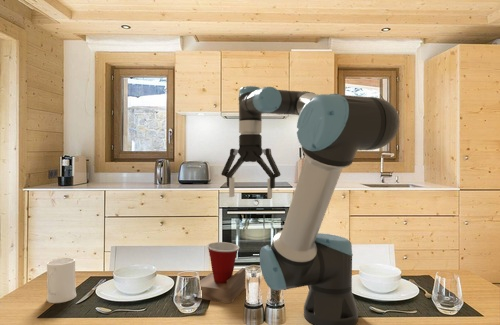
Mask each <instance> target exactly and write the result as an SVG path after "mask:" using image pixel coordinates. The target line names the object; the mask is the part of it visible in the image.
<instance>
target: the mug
mask: <svg viewBox="0 0 500 325" xmlns="http://www.w3.org/2000/svg"><path fill="white" fill-rule="evenodd" d="M46 274H47V275H46V279H47V280H46V289H47V290H46V291H47V296H46V297H47V298H46V302H47V303H49V304H61V303H66V302H70V301H72V300H74V299H76V297H77V292H76V291H77V289H76V288H77V287H76V259H75V258H73V257H60V258H54V259H52V260H49V261H47V263H46Z"/></svg>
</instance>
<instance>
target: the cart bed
mask: <svg viewBox="0 0 500 325" xmlns="http://www.w3.org/2000/svg"><path fill="white" fill-rule="evenodd" d="M199 281H200V283H201V290H202V299H201V300H207V301H213V302H220V303H224V304H225V303H226V304H231V303H232V302H233V301H234V300H236V298H238V296H240V295H241V294H242V293H243V292H244V290H246V267H245V268H244V267H242V268H240V269H238V271H237V272H235V273H233V274H232V277H230V278H229V279H228V280H227V283H224V284H220V283H216V282H215V281H214V277H213V272H210V273H209V274H208V275H206V276H205V277H203V278H202V279H200V280H199Z"/></svg>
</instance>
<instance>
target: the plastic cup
mask: <svg viewBox="0 0 500 325" xmlns="http://www.w3.org/2000/svg"><path fill="white" fill-rule="evenodd" d="M206 247H207V249H208V253H209V260H210V265H211V273H213V277H214V281H215V282H216V283H220V284H224V283H227V280H228V279H229V278H230V277H232V275H234V270H235V269H234V268H235V264H236V257H237V255H238V251H239V250H240V246H239V245H237V244H236V243H231V242H225V241H221V242H220V241H217V242H210V243H208V244H207V246H206Z"/></svg>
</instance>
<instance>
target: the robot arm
mask: <svg viewBox="0 0 500 325" xmlns="http://www.w3.org/2000/svg"><path fill="white" fill-rule="evenodd" d="M265 114H268V115H269V114H270V115H274V114H275V115H293V116H298V118H297V122H296V123H297V124H296V129H297V132H296V135H297V140H298V143H299V145H300V146H301V151H302V153H303V154H304V156H305V157H304V161H303V164H302V167H301V169H300V174H299V176H298V178H297V179H298V180H297V183H296V186H295V189H294V192H293V194H292V195H293V196H292V199H291V202H290V205H289V209H288V211H287V214H286V218H285V220H284V221H285V222H284V224H283V227H282V230H279V231H278V232H277V233H275V235H274V237H273V239H272V243H271V245H270V244H266V245H264V246H261V249H260V251H259V265H260V266H259V267H260V270H261V274H262V276H263V280H264V282H265V284H266V285H267V286H268V287H269V289H271V290H273V291H286V290H292V289H296V288H301V287H306V286H309V290H308V293H307V297H306V298H305V302H304V305H303V316H304V319H305V320H306V321H307V322H309V323H311V324H312V325H356V324H358V321H359V310H358V307H357V304H356V300H355V296H354V294H353V287H352V286H353V278H352V277H353V256H354V254H353V249H352V248H353V247H352V242H351V241H350V240H349V239H348V238H346V237H343V236H341V235H340V236H339V235H335V234H330V233H323V232H321V233H320V232H319V231H320V229H321V227H322V226H321V225H322V223H323V221H324V218H325V216H326V213H327V210H328V208H329V206H330V203H331V199H332V197H333V195H334V192H335V188H336V186H337V184H338V181H339V179H340V176H341V173H342V170H343V169H345V168H348V167H350V166H351V165H352V164H353V163H354V159H355V157H356V155H357V151H373V150H377V149H381V148H383V147H386V146H387V145H388V144H390V143H391V142H392V141H393V140H394V139H395V137H396V136H397V135H398V134H397V133H398V132H399V128H400V121H401V120H400V115H399V112H398V111H397V109H396V107H395V106H394V105H393V104H392V103H391V102H389V101H387V100H386V99H383V98H380V97H374V96H358V95H346V94H340V93H330V94H329V93H327V94H326V93H325V94H316V93H315V92H310V91H305V90H304V91H303V90H302V91H299V90H285V89H277V88H275V87H274V86H263V87H259V86H255V85H254V86H251V85H249V86H248V85H247V86H242V87H241V88H239V90H238V132H239V136H238V143H239V144H238V146H239V147H238V149H236V148H231V149H230V150H229V156H228V158H227V160H226V162H225V164H224V167H223V169H222V171H221V176H222V177H223V176H224V177H226V186H227V188H229V189H228V191H229V192H228V194H229V195H228V197H229V198H233V197H235V177H233V176H234V175H235V174H236V172H237V171H238V169H240V167H241V166H242V164H243V163H247V162H248V163H258V165H259V166H260V167H261V168H262V170H263V171H264V172H265V173H266V175H267V176H268V177H269V178H267V200H270V199H272V198H273V189H275V187H276V178H279V177H281V175H282V174H281V172H280V169H279V168H278V166H277V164H276V161H275V159H274V157H273V156H272V149H271V148H264V149H263V148H262V140H263V138H262V135H261V133H262V120H263V119H262V115H265ZM262 154H263V155H264V156H266V159H267V162H268V164H269V166H270V167H271V169H270V167H269V166H268V165H267V163H266V162H265V161H264V159H263V158H262ZM237 155H239V157H238V159H237V161H235V158H236V157H237ZM234 161H235V163H234ZM233 163H234V164H233Z"/></svg>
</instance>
